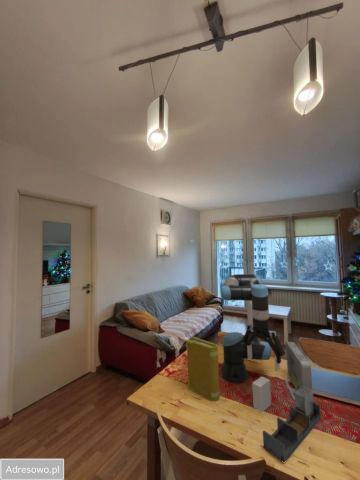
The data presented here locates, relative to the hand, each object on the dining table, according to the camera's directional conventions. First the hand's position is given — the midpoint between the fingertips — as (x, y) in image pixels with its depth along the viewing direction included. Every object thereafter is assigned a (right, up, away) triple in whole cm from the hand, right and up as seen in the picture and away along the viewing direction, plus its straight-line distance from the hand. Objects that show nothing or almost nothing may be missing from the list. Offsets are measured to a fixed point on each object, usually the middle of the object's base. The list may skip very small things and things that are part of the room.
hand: (263, 364), depth 100 cm
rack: (+6, -18, -16) cm, 25 cm away
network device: (+21, -19, +8) cm, 29 cm away
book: (-26, -20, +9) cm, 35 cm away
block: (-1, -19, -1) cm, 19 cm away
